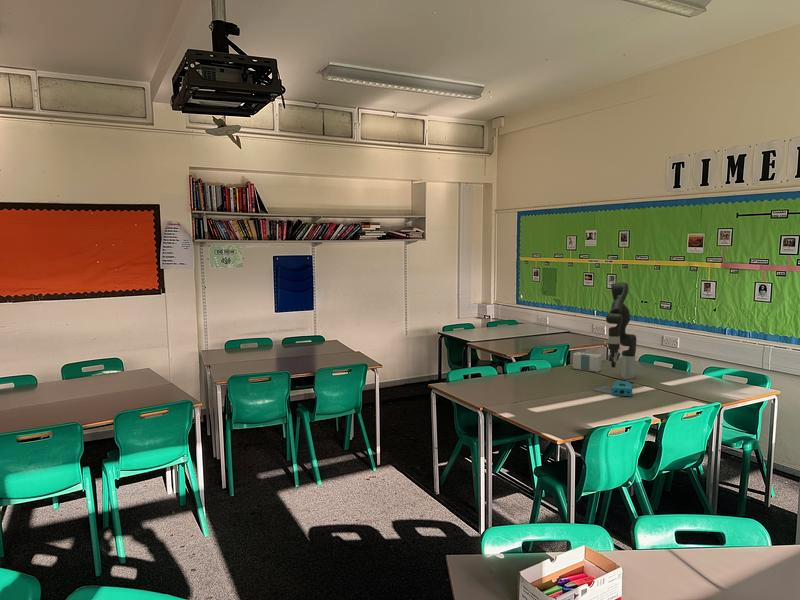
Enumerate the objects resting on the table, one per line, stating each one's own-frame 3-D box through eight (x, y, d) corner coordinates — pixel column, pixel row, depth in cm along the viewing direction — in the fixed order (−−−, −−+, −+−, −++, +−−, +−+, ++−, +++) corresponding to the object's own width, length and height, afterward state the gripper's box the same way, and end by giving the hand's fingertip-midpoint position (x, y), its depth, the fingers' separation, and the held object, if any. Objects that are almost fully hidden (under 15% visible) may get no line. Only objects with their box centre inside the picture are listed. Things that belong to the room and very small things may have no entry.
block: (631, 381, 382) (632, 389, 364) (631, 388, 383) (631, 396, 364) (613, 380, 387) (612, 387, 368) (613, 387, 387) (612, 394, 369)
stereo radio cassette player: (572, 369, 446) (572, 345, 444) (576, 367, 452) (576, 343, 450) (598, 373, 433) (598, 347, 431) (601, 371, 439) (602, 346, 437)
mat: (604, 386, 392) (604, 385, 392) (627, 391, 378) (627, 390, 378) (591, 390, 384) (591, 389, 384) (615, 395, 369) (615, 394, 369)
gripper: (614, 340, 387) (614, 364, 388) (603, 342, 379) (602, 367, 381) (624, 342, 381) (623, 366, 382) (613, 344, 373) (612, 369, 375)
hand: (613, 367), depth 381 cm, fingers closed
